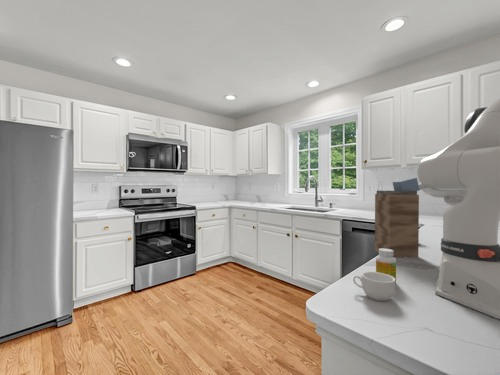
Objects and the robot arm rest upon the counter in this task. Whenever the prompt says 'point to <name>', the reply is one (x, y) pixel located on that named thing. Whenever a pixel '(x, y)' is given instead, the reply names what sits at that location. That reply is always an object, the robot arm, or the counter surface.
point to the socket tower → (397, 222)
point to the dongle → (408, 185)
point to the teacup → (377, 285)
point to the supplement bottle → (386, 262)
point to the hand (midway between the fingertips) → (432, 181)
